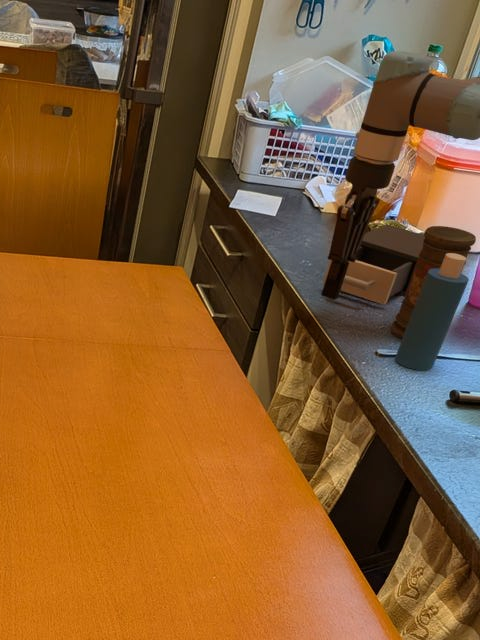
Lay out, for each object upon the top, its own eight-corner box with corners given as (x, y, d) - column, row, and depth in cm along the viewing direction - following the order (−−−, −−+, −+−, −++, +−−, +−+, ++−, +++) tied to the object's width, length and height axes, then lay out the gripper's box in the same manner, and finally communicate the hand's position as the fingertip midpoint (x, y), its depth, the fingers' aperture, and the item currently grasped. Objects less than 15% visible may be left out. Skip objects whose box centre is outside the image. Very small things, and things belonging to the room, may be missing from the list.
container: (398, 321, 176) (432, 221, 164) (445, 334, 172) (484, 233, 160) (383, 334, 170) (417, 232, 158) (432, 348, 166) (470, 244, 155)
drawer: (375, 309, 177) (386, 278, 173) (313, 289, 183) (322, 258, 179) (414, 287, 189) (425, 258, 185) (354, 269, 195) (364, 239, 191)
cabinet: (407, 298, 187) (422, 258, 182) (341, 276, 193) (354, 238, 188) (437, 280, 197) (452, 242, 192) (374, 261, 203) (386, 224, 198)
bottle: (438, 364, 161) (482, 258, 150) (424, 373, 158) (468, 266, 146) (403, 351, 164) (443, 247, 153) (389, 361, 160) (429, 254, 149)
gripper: (368, 149, 164) (326, 283, 179) (337, 158, 156) (295, 298, 171) (409, 159, 160) (362, 295, 176) (379, 169, 152) (333, 311, 168)
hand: (329, 296), depth 173 cm, fingers closed
